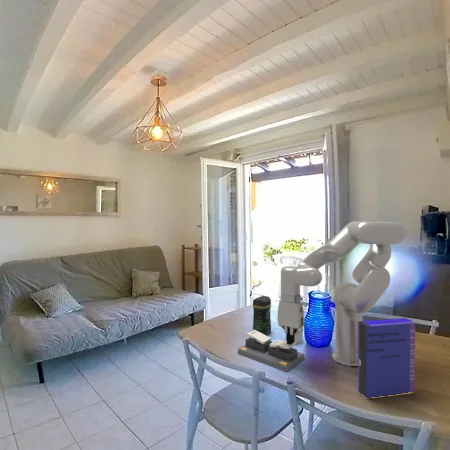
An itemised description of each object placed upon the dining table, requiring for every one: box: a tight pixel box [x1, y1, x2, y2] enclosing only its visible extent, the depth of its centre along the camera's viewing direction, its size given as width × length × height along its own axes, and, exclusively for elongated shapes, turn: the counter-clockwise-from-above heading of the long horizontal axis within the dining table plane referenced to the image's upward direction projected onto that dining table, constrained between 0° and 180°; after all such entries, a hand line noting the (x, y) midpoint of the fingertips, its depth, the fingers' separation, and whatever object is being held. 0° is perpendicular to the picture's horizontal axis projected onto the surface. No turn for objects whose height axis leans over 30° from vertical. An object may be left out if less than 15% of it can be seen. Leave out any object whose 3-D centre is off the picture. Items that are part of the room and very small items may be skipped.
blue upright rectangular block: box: [357, 317, 416, 398], centre depth 103 cm, size 17×5×24 cm, turn 99°
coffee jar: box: [252, 295, 272, 336], centre depth 155 cm, size 10×8×19 cm
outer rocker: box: [246, 329, 272, 344], centre depth 134 cm, size 9×6×1 cm, turn 48°
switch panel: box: [237, 334, 305, 373], centre depth 130 cm, size 24×14×7 cm, turn 48°
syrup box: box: [290, 327, 304, 345], centre depth 145 cm, size 6×6×14 cm
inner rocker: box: [270, 339, 297, 349], centre depth 126 cm, size 9×6×1 cm, turn 48°
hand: (290, 343), depth 123 cm, fingers closed
